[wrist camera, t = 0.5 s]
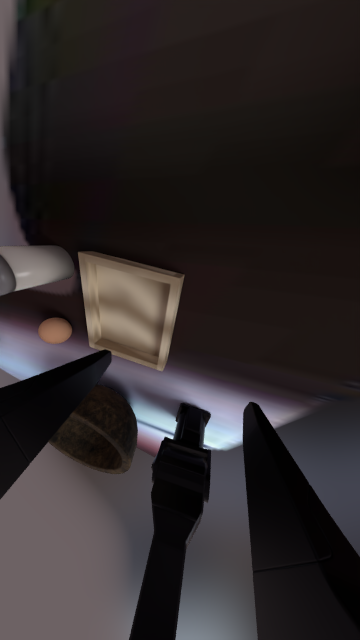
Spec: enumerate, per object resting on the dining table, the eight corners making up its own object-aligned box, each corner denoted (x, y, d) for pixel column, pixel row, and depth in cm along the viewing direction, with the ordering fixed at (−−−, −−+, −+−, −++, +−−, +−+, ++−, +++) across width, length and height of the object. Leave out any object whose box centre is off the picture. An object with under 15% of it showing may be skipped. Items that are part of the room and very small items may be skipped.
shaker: (76, 282, 25) (10, 301, 17) (50, 275, 26) (-27, 289, 18) (72, 248, 23) (-9, 252, 15) (42, 241, 23) (-50, 240, 15)
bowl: (113, 353, 31) (71, 397, 22) (168, 422, 37) (151, 477, 28) (57, 375, 40) (12, 412, 31) (109, 428, 46) (83, 471, 37)
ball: (79, 337, 31) (57, 352, 27) (59, 330, 32) (34, 344, 28) (76, 317, 29) (51, 330, 25) (54, 310, 29) (27, 321, 25)
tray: (166, 361, 28) (162, 371, 26) (99, 339, 30) (89, 346, 28) (184, 274, 20) (180, 278, 18) (91, 251, 22) (77, 252, 20)
